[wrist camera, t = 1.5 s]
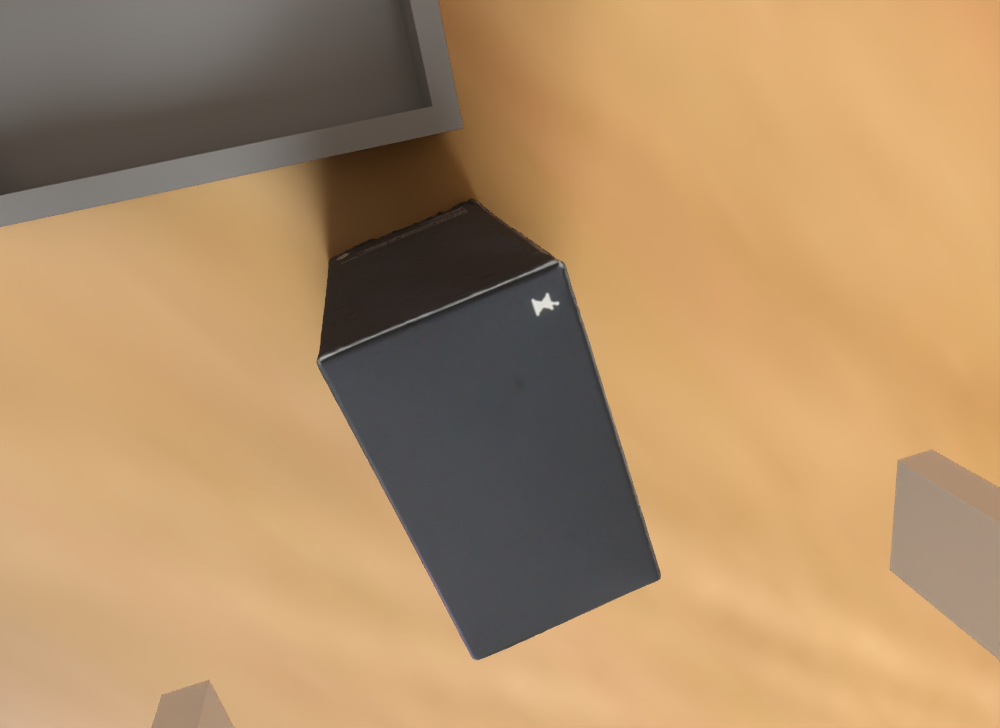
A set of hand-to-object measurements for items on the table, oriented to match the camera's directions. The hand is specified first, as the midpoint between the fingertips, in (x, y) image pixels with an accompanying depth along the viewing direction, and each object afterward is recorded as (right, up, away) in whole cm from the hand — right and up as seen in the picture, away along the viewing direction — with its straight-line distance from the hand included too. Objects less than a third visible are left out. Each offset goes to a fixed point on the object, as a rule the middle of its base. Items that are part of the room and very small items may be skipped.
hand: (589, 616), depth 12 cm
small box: (-4, +5, +14) cm, 15 cm away
